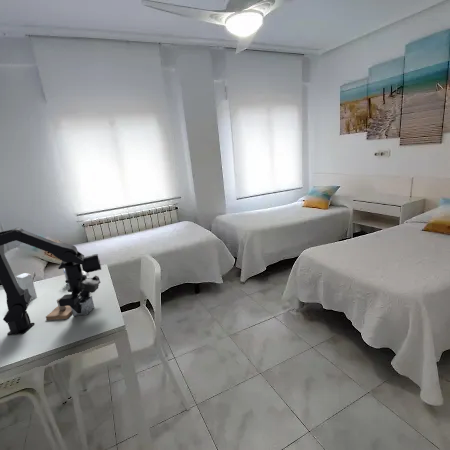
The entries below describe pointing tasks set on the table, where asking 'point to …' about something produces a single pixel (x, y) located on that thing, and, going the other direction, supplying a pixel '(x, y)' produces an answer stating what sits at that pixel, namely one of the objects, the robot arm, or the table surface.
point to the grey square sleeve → (84, 306)
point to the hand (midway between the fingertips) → (83, 308)
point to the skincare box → (27, 284)
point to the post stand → (60, 312)
